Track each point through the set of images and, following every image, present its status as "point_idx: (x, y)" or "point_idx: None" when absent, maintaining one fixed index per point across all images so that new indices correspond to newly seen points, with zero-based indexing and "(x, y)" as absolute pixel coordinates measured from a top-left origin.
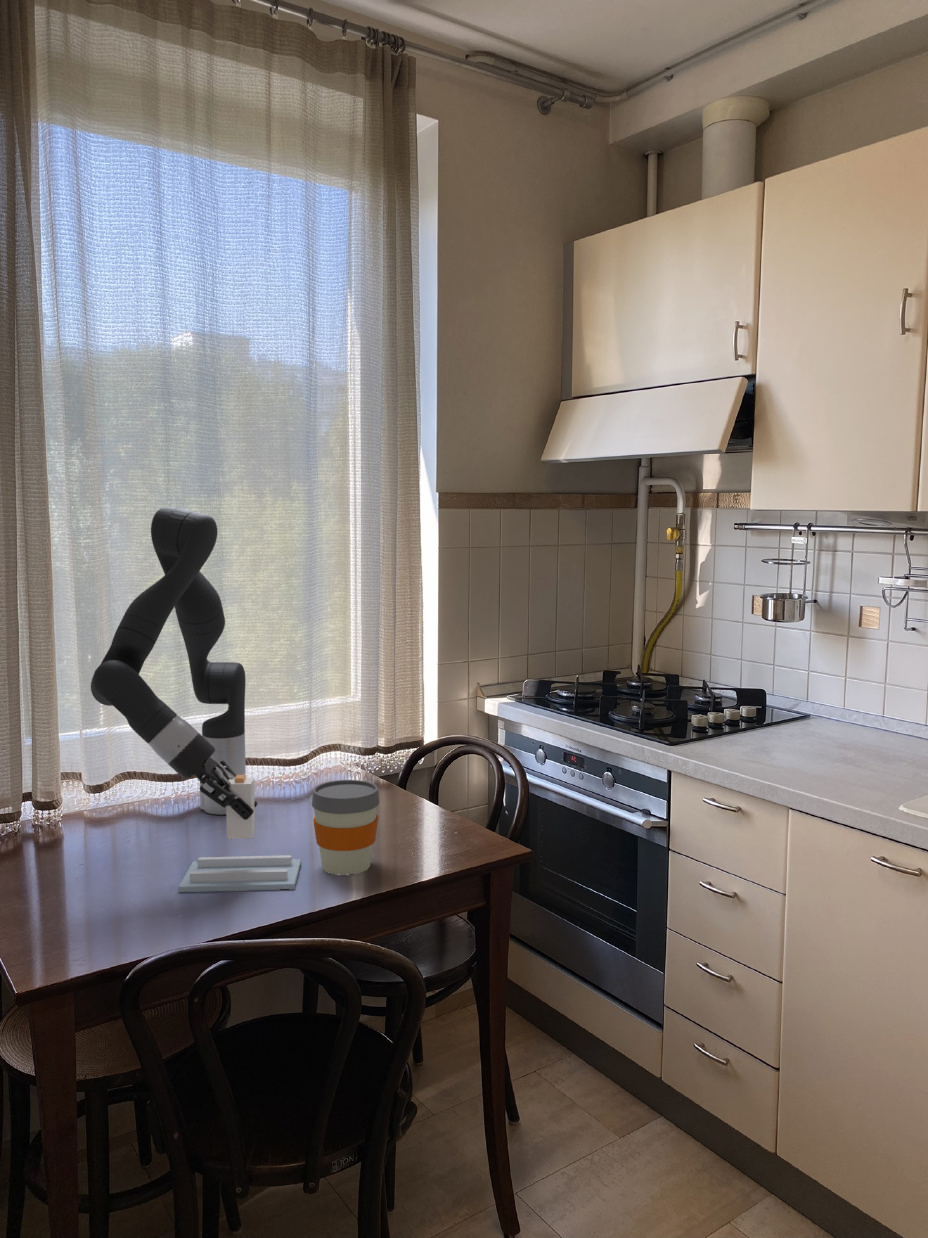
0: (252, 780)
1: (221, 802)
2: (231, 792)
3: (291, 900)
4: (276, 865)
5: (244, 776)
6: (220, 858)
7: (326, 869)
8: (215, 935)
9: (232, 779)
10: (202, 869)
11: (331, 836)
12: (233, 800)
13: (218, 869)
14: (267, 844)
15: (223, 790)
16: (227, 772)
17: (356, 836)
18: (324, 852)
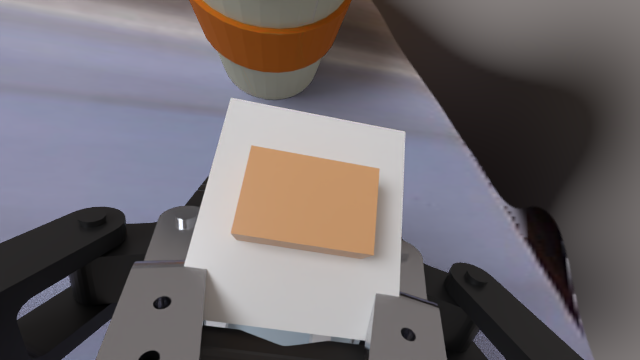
0: (314, 116)
1: (474, 353)
2: (422, 286)
3: (415, 169)
4: None
5: (314, 159)
6: (218, 326)
7: (295, 92)
8: (555, 310)
9: (236, 283)
10: None
11: (338, 26)
12: (440, 272)
13: (245, 327)
14: (58, 198)
15: (571, 354)
16: (161, 356)
17: None
18: (300, 71)
